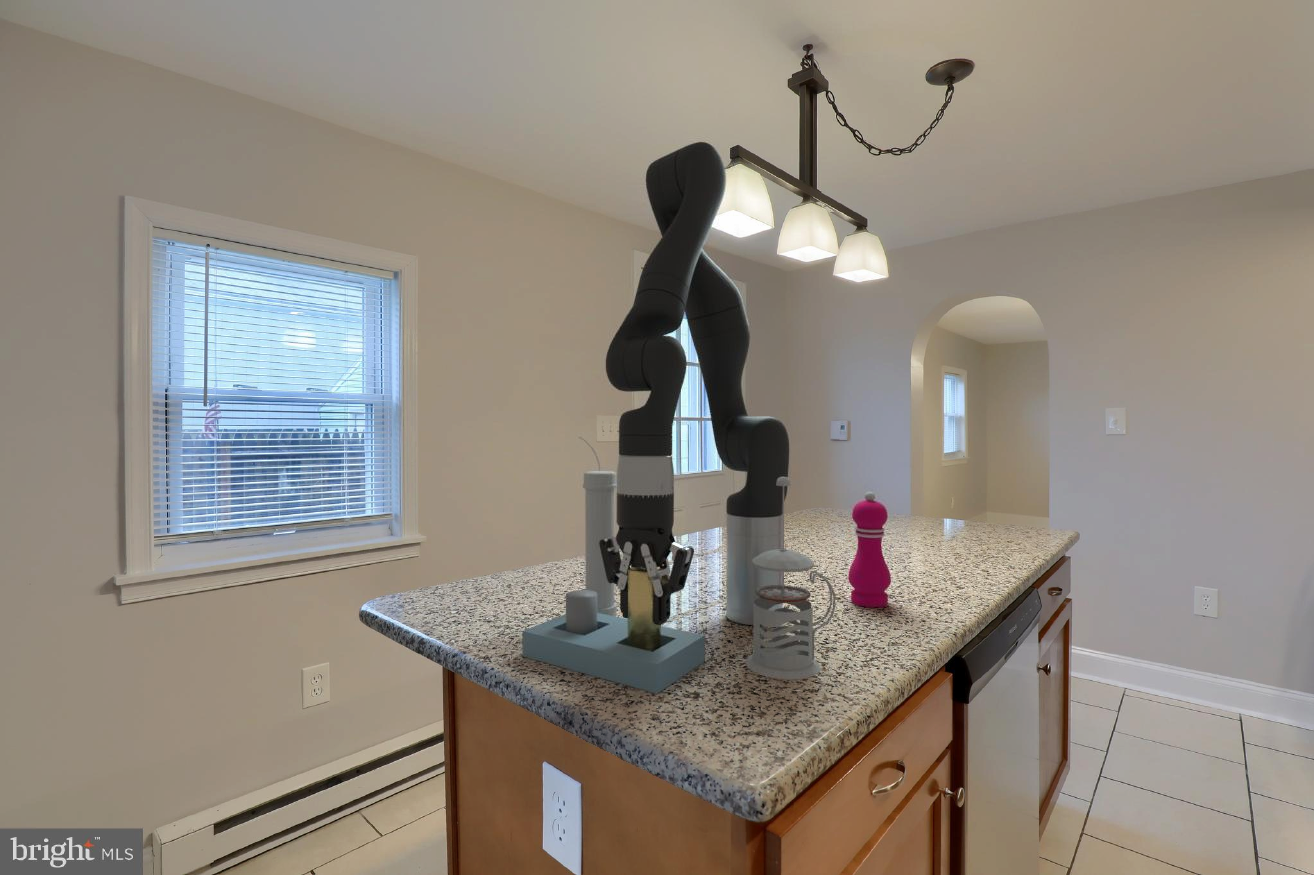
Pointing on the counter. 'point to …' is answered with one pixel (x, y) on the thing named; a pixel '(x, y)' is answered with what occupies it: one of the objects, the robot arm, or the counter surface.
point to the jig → (611, 647)
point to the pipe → (599, 534)
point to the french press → (785, 617)
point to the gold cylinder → (642, 611)
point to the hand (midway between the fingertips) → (644, 619)
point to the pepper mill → (869, 555)
